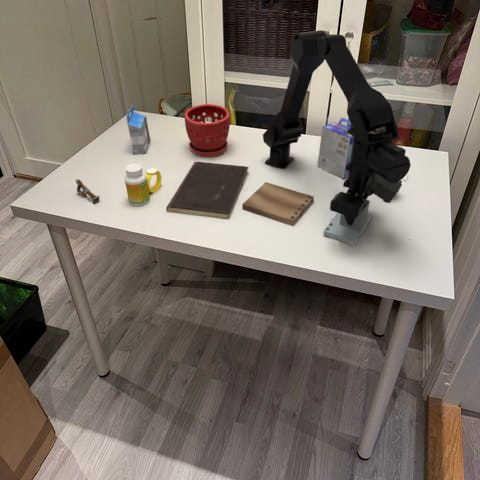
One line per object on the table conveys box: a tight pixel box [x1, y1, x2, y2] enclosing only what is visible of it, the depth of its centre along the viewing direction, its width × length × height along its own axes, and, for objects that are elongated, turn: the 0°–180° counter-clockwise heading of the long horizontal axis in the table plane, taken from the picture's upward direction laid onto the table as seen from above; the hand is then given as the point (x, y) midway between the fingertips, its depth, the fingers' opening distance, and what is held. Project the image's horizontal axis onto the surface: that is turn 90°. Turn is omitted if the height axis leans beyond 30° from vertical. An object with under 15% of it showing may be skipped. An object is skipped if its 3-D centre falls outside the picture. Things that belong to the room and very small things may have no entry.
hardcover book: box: [166, 161, 249, 219], centre depth 121 cm, size 16×23×2 cm
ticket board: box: [241, 181, 315, 227], centre depth 115 cm, size 12×14×2 cm
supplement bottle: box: [124, 163, 151, 207], centre depth 115 cm, size 5×5×10 cm
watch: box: [145, 167, 162, 194], centre depth 121 cm, size 6×3×6 cm, turn 156°
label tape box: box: [126, 103, 151, 155], centre depth 138 cm, size 9×4×12 cm, turn 179°
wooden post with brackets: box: [75, 178, 100, 204], centre depth 119 cm, size 2×8×4 cm, turn 52°
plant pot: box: [184, 103, 231, 157], centre depth 136 cm, size 13×13×12 cm
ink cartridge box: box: [317, 117, 353, 179], centre depth 125 cm, size 10×6×14 cm, turn 41°
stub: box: [322, 199, 373, 245], centre depth 106 cm, size 12×7×7 cm, turn 149°
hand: (353, 219), depth 106 cm, fingers closed on stub, 4 cm apart
